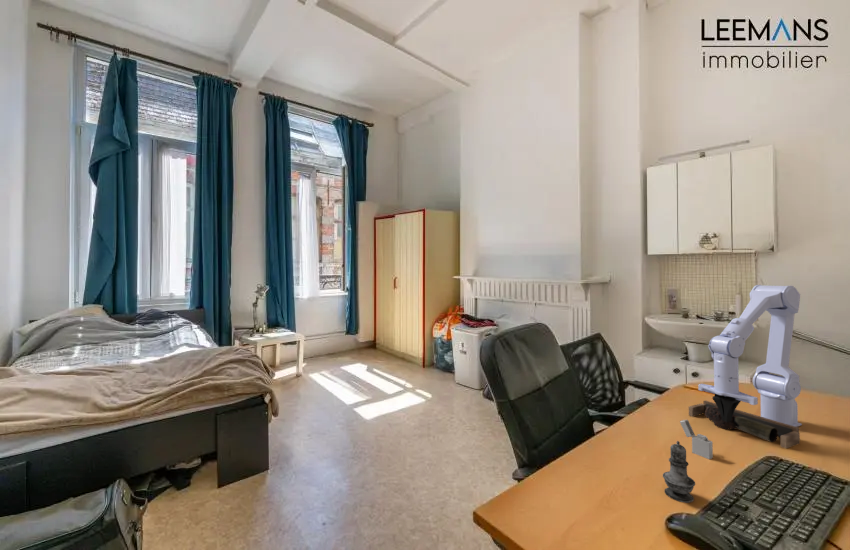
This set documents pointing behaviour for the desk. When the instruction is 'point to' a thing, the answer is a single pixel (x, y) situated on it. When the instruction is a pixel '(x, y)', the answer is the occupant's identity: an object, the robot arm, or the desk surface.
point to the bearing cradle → (785, 431)
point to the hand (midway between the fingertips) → (726, 420)
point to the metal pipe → (742, 425)
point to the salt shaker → (678, 476)
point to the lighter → (698, 441)
